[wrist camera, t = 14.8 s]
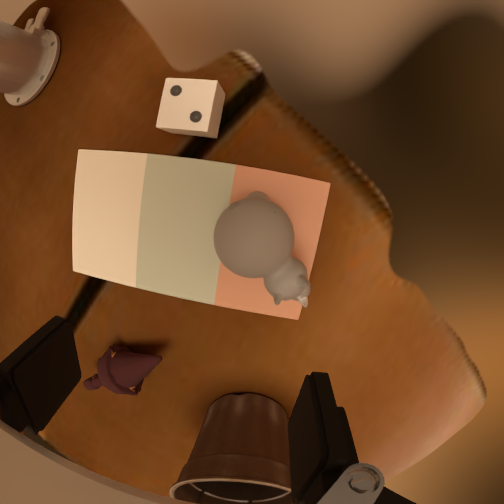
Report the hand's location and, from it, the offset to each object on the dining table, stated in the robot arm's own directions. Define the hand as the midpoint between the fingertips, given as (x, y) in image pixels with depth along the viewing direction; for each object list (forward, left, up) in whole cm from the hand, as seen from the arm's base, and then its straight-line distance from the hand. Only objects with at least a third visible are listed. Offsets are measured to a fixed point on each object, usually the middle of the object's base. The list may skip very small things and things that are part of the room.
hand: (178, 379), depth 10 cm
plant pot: (+27, +5, -23) cm, 36 cm away
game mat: (0, -7, -23) cm, 23 cm away
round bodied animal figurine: (0, +3, -23) cm, 23 cm away
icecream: (+20, -13, -23) cm, 33 cm away
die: (-13, -7, -23) cm, 27 cm away
